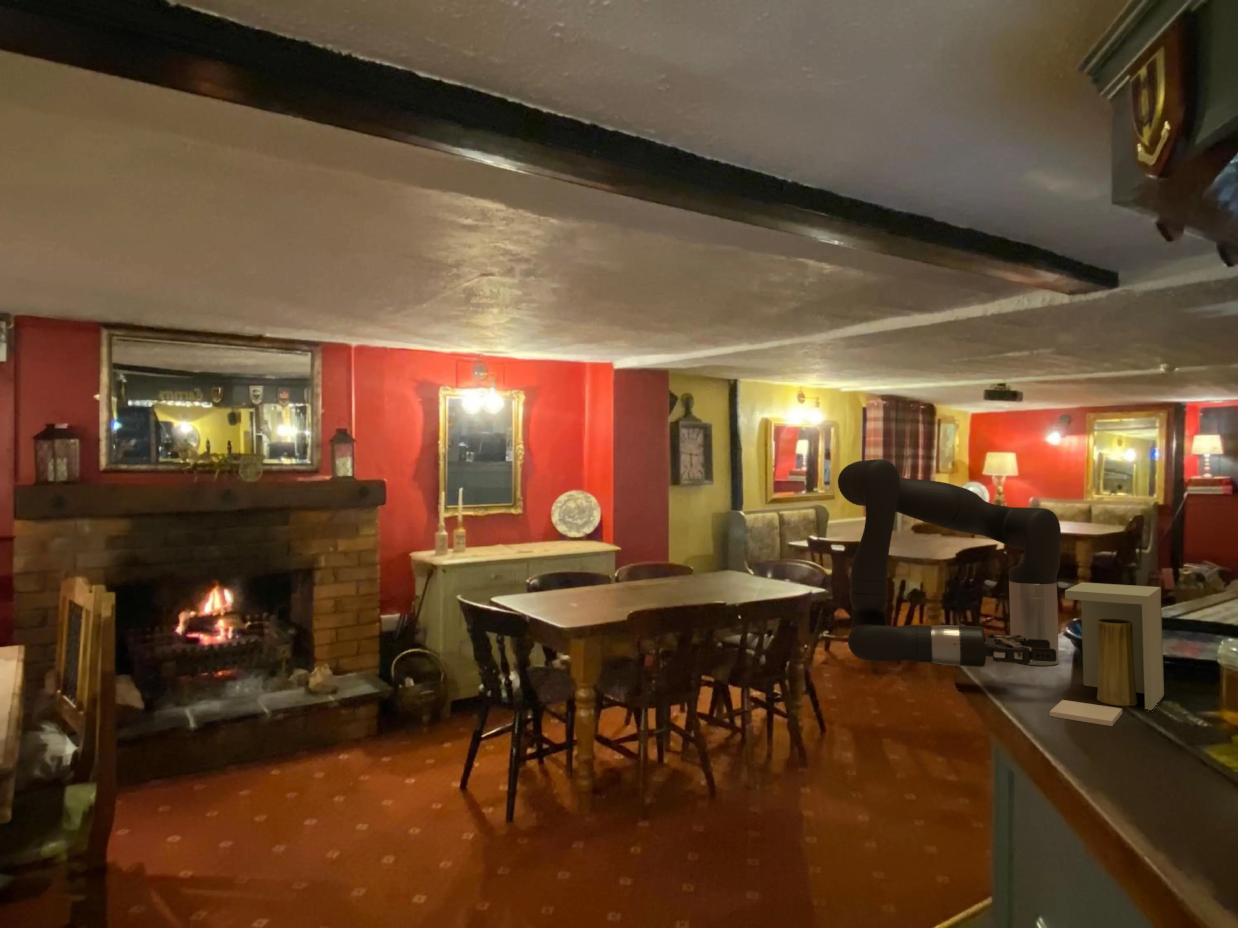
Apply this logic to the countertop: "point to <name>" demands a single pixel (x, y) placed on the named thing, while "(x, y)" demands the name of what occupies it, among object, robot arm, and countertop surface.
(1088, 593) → the shelf nook
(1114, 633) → the vase
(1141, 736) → the countertop surface
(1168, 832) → the countertop surface
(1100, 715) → the tile
